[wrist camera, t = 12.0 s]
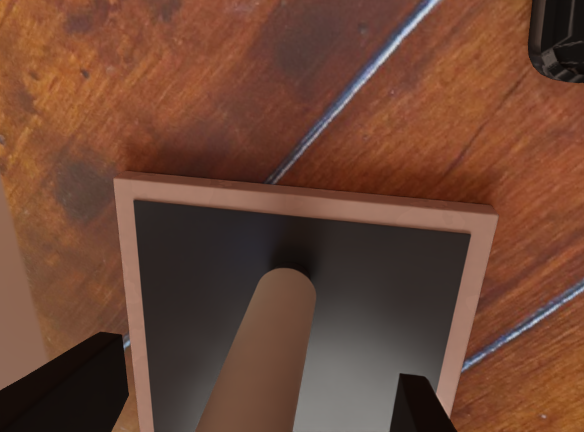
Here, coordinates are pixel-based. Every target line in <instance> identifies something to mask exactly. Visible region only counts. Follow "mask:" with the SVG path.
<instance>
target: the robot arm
mask: <svg viewBox="0 0 584 432" xmlns="http://www.w3.org/2000/svg"><path fill="white" fill-rule="evenodd" d="M128 396H129V392H128V383H127V374H126V365H125V357H124V348H123V339H122V335H121V334H114V333H107V332H99V333H97V334H95V335H93V336H92V337H90V338H88V339H86V340H85V341H83V342H81V343H80V344H78V345H76V346H75V347H73V348H71V349H70V350H68V351H66V352H65V353H63V354H61V355H60V356H58V357H57V358H55V359H53V360H52V361H50V362H48V363H47V364H45V365H43V366H42V367H40V368H38V369H37V370H35V371H33V372H32V373H30V374H28V375H27V376H25V377H23V378H21V379H20V380H18V381H16V382H14V383H13V384H11V385H9V386H7V387H5V388H3V389H2V390H0V432H111V431H112V429H113V427H114V425H115V423H116V421H117V419H118V417H119V415H120V413H121V411H122V409H123V407H124V404H125V402H126V400H127V398H128ZM389 432H457V431H456V429H455V427H454V426H453V424H452V422H451V420H450V419H449V417H448V415H447V413H446V412H445V410H444V408H443V406H442V405H441V403H440V401H439V399H438V397H437V395H436V394H435V392H434V390H433V388H432V386H431V384H430V382H429V380H428V379H427V378H426V377H425V376H419V375H411V374H404V373H400V374H399V380H398V385H397V391H396V397H395V402H394V408H393V414H392V419H391V425H390V431H389Z"/></svg>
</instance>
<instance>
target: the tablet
mask: <svg viewBox="0 0 584 432" xmlns="http://www.w3.org/2000/svg"><path fill="white" fill-rule="evenodd" d="M113 181H114V191H115V200H116V210H117V219H118V229H119V238H120V247H121V257H122V266H123V276H124V285H125V295H126V304H127V314H128V323H129V332H130V342H131V351H132V361H133V370H134V380H135V389H136V399H137V408H138V417H139V427H140V432H195V430H196V427H197V425H198V423H199V420H200V418H201V416H202V413H203V411H204V409H205V406H206V404H207V402H208V399H209V397H210V395H211V392H212V390H213V388H214V385H215V383H216V381H217V378H218V376H219V374H220V371H221V369H222V367H223V364H224V362H225V360H226V357H227V355H228V353H229V350H230V348H231V346H232V343H233V341H234V339H235V336H236V334H237V332H238V329H239V327H240V325H241V322H242V320H243V318H244V315H245V313H246V311H247V308H248V306H249V304H250V301H251V299H252V297H253V294H254V292H255V290H256V287H257V285H258V282H259V281H260V279H261V278H262V277H263V276H264V275H265V274H266V273H268V272H269V271H272V270H273V269H274V268H275V267H276V266H278V265H280V264H283V263H295V264H298V265H300V266H302V267H303V268H304V269H305V270H306V271H307V272H308V274H309V276H310V279H311V283H312V284H313V286H314V288H315V291H316V303H315V309H314V314H313V320H312V325H311V331H310V337H309V342H308V348H307V354H306V359H305V365H304V370H303V376H302V382H301V387H300V393H299V398H298V404H297V410H296V415H295V421H294V426H293V432H389V431H390V425H391V419H392V414H393V408H394V402H395V397H396V391H397V385H398V380H399V374H400V373H404V374H411V375H419V376H425V377H426V378H427V379H428V380H429V382H430V384H431V386H432V388H433V390H434V392H435V394H436V395H437V397H438V399H439V401H440V403H441V405H442V406H443V408H444V410H445V412H446V413H447V415H448V417H449V419H450V415H451V411H452V407H453V403H454V399H455V394H456V390H457V386H458V382H459V378H460V374H461V370H462V366H463V362H464V357H465V353H466V349H467V345H468V341H469V337H470V333H471V329H472V325H473V320H474V316H475V312H476V308H477V304H478V300H479V296H480V292H481V287H482V283H483V279H484V275H485V271H486V267H487V263H488V259H489V255H490V250H491V246H492V242H493V238H494V234H495V230H496V226H497V222H498V218H499V214H498V213H497V212H496V211H495V209H494V208H493V207H492V206H491V205H484V204H473V203H462V202H452V201H441V200H430V199H420V198H409V197H398V196H388V195H377V194H367V193H356V192H345V191H335V190H324V189H313V188H303V187H292V186H282V185H271V184H260V183H250V182H239V181H228V180H218V179H207V178H196V177H186V176H175V175H165V174H154V173H143V172H133V171H125V172H123V173H121V174H119V175H117V176H116V177H114V178H113Z"/></svg>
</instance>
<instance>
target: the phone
mask: <svg viewBox="0 0 584 432" xmlns="http://www.w3.org/2000/svg"><path fill="white" fill-rule="evenodd" d="M528 54H529V58H530V60H531V62H532V65H533V67H534V68H535V69H536V70H537V71H538V72H539V73H540V74H542V75H544V76H546V77H548V78H551V79H555V80H559V81H564V82H573V83H584V0H533V2H532V11H531V20H530V29H529V39H528Z"/></svg>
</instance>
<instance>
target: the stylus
mask: <svg viewBox="0 0 584 432" xmlns="http://www.w3.org/2000/svg"><path fill="white" fill-rule="evenodd" d="M315 303H316V291H315V288H314V286H313V284H312V283H311V279H310V276H309V274H308V272H307V271H306V270H305V269H304V268H303V267H302V266H300V265H298V264H295V263H283V264H280V265H278V266H276V267H275V268H274V269H273V270H272V271H269V272H268V273H266V274H265V275H264V276H263V277H262V278H261V279H260V281H259V282H258V285H257V287H256V290H255V292H254V294H253V297H252V299H251V301H250V304H249V306H248V308H247V311H246V313H245V315H244V318H243V320H242V322H241V325H240V327H239V329H238V332H237V334H236V336H235V339H234V341H233V343H232V346H231V348H230V350H229V353H228V355H227V357H226V360H225V362H224V364H223V367H222V369H221V371H220V374H219V376H218V378H217V381H216V383H215V385H214V388H213V390H212V392H211V395H210V397H209V399H208V402H207V404H206V406H205V409H204V411H203V413H202V416H201V418H200V420H199V423H198V425H197V427H196V430H195V432H293V426H294V421H295V415H296V410H297V404H298V398H299V393H300V387H301V382H302V376H303V370H304V365H305V359H306V354H307V348H308V342H309V337H310V331H311V325H312V320H313V314H314V309H315Z"/></svg>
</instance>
